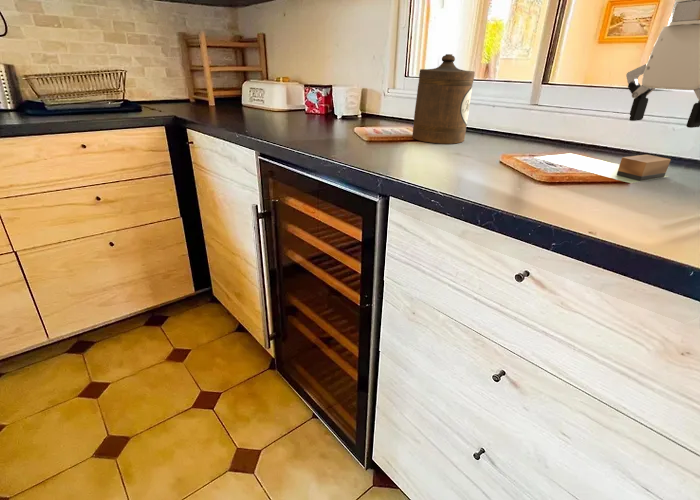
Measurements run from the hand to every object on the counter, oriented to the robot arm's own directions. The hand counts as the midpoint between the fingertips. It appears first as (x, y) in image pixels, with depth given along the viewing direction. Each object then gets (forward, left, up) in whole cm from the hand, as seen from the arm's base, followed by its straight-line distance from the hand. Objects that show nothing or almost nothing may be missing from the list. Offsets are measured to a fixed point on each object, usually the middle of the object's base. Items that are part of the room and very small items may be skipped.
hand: (662, 123), depth 73 cm
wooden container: (+51, +10, -11) cm, 53 cm away
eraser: (0, 0, -10) cm, 10 cm away
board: (+9, +1, -11) cm, 15 cm away
